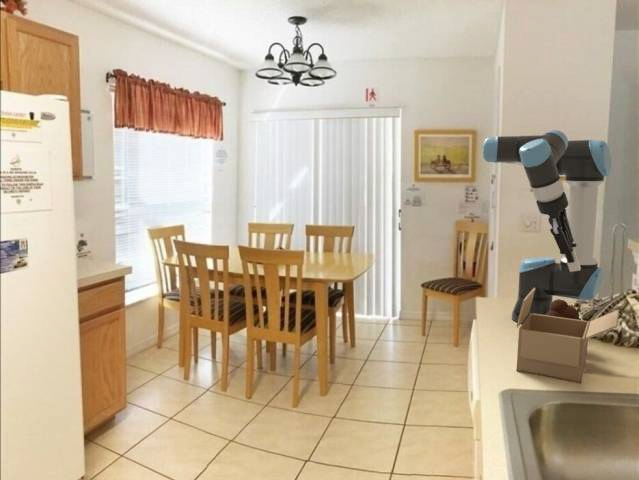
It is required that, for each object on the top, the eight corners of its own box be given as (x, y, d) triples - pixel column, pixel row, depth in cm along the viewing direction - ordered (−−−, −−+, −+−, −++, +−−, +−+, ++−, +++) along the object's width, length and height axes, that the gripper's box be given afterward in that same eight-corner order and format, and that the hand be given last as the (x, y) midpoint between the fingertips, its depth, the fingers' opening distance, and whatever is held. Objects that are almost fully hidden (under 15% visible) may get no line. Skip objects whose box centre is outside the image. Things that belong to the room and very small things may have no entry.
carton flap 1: (529, 312, 162) (527, 312, 162) (535, 288, 160) (533, 287, 160) (518, 327, 146) (516, 326, 147) (525, 300, 145) (523, 300, 145)
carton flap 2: (618, 309, 150) (619, 311, 149) (590, 321, 153) (591, 322, 153) (616, 325, 134) (617, 327, 134) (585, 337, 138) (586, 339, 138)
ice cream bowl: (542, 351, 164) (545, 303, 162) (541, 340, 175) (544, 295, 173) (580, 355, 161) (584, 306, 159) (577, 344, 171) (580, 298, 169)
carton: (528, 351, 164) (530, 313, 162) (586, 361, 156) (589, 321, 154) (515, 371, 147) (518, 329, 146) (580, 384, 139) (584, 339, 138)
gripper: (539, 189, 152) (564, 260, 159) (531, 209, 142) (558, 284, 149) (567, 182, 148) (591, 256, 154) (561, 202, 138) (587, 280, 145)
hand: (575, 269), depth 152 cm, fingers closed
